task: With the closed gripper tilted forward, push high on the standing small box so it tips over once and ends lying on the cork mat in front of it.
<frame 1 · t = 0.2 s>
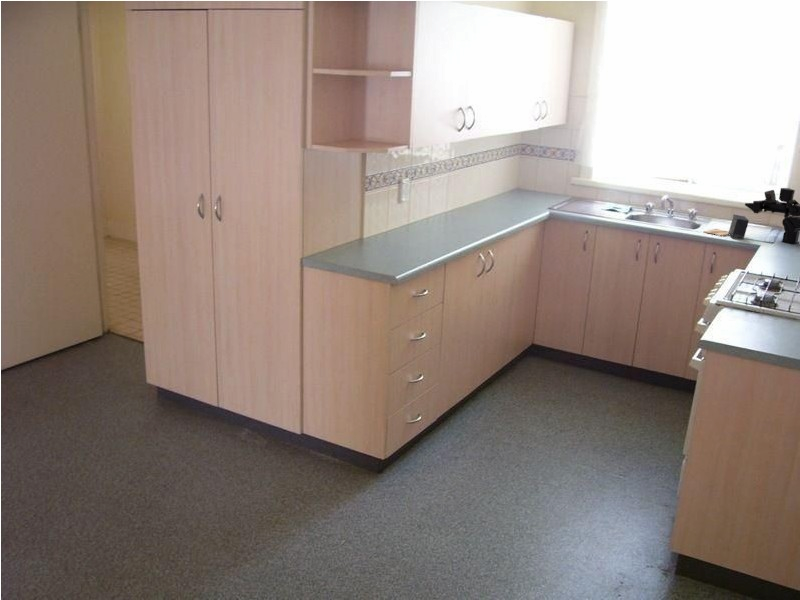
hand: (749, 203, 426), 16 cm above the counter, tool horizontal, fingers open, 9 cm apart
small box: (736, 236, 420), on the counter, touching cork mat
cork mat: (718, 233, 427), on the counter
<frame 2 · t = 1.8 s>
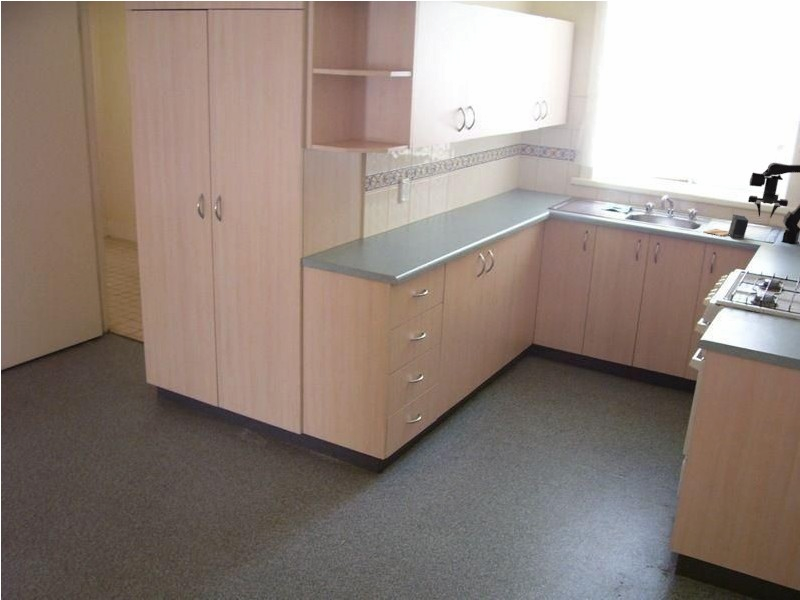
hand: (764, 217, 413), 12 cm above the counter, tool pointing down, fingers open, 5 cm apart
nothing on the counter moved.
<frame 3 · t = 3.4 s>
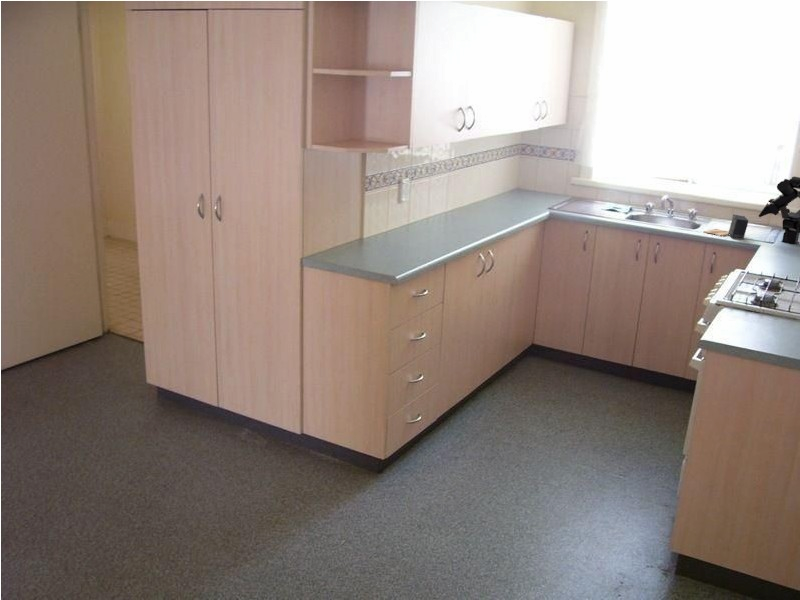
hand: (759, 216, 411), 13 cm above the counter, tool tilted 45°, fingers closed
nothing on the counter moved.
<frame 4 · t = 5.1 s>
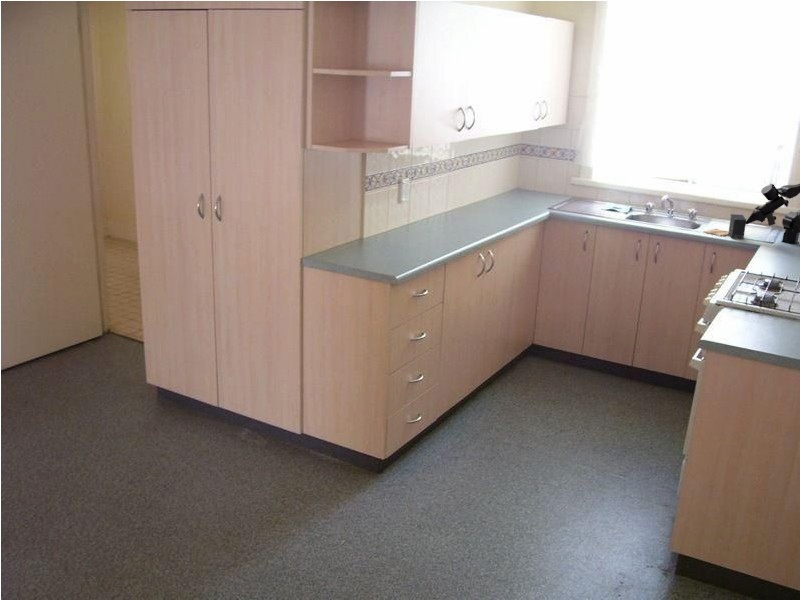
hand: (745, 223, 414), 8 cm above the counter, tool tilted 45°, fingers closed
small box: (736, 236, 420), on the counter, touching cork mat, gripper
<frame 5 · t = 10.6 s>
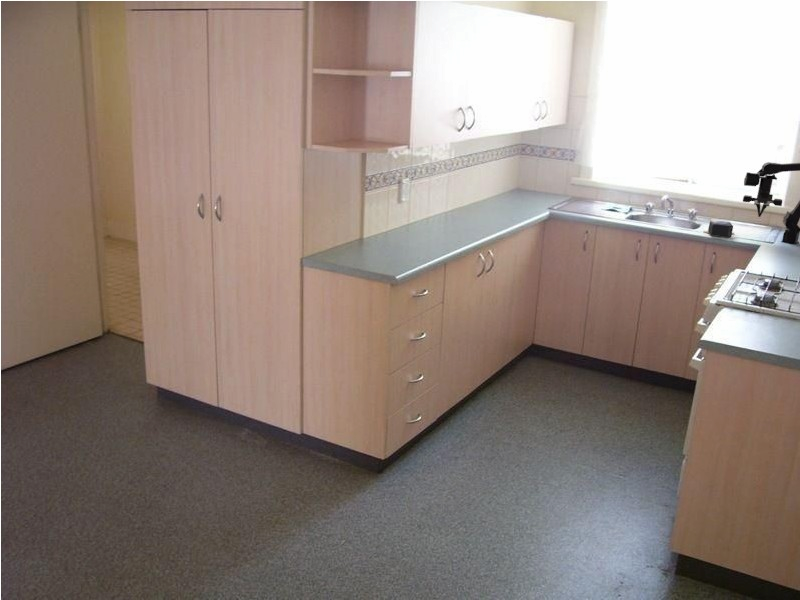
hand: (759, 216, 414), 12 cm above the counter, tool pointing down, fingers closed
small box: (731, 229, 419), point 4 cm above the counter, touching cork mat
at the end: small box tilted 91°; small box touching cork mat; small box inside the target area (4.1 cm from its centre), point 3.8 cm above the counter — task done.
